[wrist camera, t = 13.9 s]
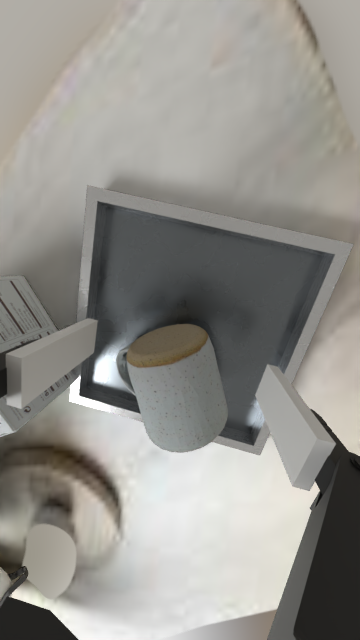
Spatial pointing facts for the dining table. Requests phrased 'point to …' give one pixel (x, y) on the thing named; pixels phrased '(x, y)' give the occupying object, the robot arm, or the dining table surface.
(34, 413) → the supplement box
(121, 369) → the ceramic mug
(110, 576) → the dining table surface
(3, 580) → the coffee press
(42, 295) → the dining table surface
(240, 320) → the square tray
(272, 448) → the dining table surface
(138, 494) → the dining table surface
